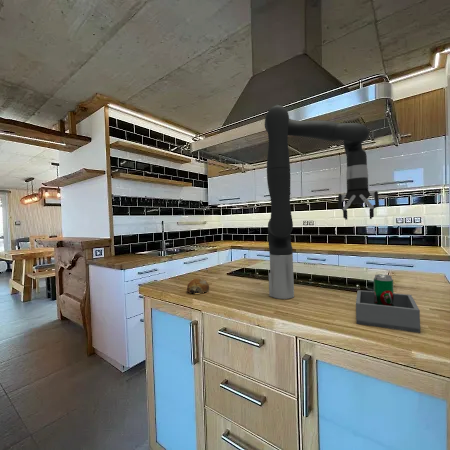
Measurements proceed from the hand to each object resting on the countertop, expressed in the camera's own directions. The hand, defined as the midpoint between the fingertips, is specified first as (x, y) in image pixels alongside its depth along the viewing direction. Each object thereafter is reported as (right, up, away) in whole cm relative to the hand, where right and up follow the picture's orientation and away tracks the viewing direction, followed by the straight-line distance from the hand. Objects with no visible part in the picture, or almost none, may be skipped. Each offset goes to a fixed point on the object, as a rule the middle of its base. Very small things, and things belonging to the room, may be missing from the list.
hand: (358, 219), depth 101 cm
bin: (-4, -31, -23) cm, 39 cm away
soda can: (-4, -30, -23) cm, 38 cm away
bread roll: (-65, -33, +15) cm, 74 cm away
